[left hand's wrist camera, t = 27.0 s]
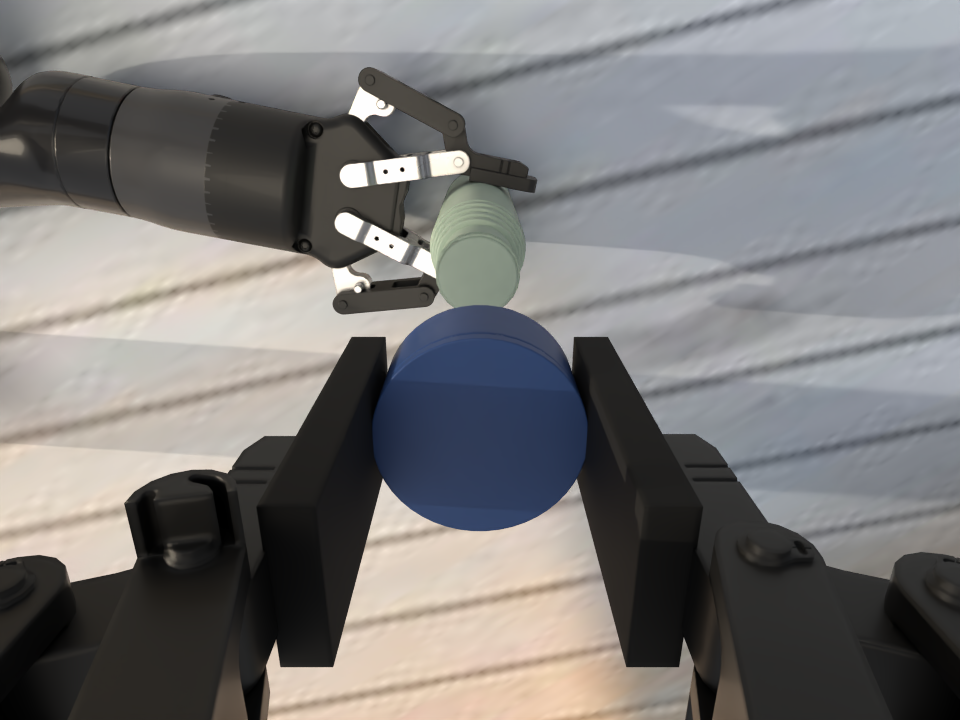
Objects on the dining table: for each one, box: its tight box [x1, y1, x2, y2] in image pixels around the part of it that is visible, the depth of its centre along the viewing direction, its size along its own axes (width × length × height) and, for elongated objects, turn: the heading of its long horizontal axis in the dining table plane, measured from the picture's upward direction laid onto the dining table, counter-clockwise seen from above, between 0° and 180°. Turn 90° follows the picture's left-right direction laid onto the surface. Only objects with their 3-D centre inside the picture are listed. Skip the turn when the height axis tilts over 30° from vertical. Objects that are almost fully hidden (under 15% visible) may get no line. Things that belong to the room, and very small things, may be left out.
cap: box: [372, 305, 588, 531], centre depth 14 cm, size 4×4×2 cm
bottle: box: [430, 175, 526, 308], centre depth 33 cm, size 4×4×19 cm
